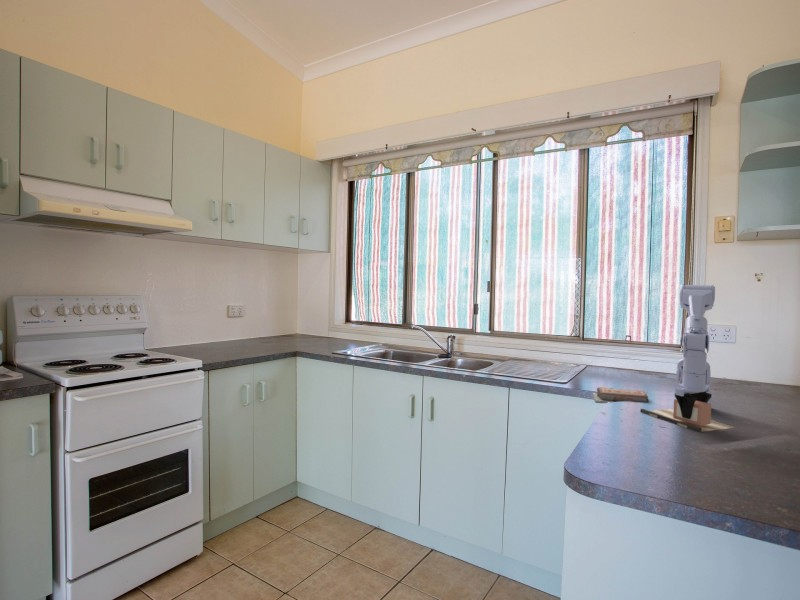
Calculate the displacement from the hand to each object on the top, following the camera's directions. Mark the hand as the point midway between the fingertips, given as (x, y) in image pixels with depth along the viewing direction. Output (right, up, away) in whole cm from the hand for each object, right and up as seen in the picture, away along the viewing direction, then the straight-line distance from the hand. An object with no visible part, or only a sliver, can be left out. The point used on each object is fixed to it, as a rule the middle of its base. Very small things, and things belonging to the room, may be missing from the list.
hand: (692, 416), depth 133 cm
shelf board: (+2, -4, +5) cm, 6 cm away
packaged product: (-7, -3, +30) cm, 31 cm away
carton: (0, -1, 0) cm, 1 cm away
